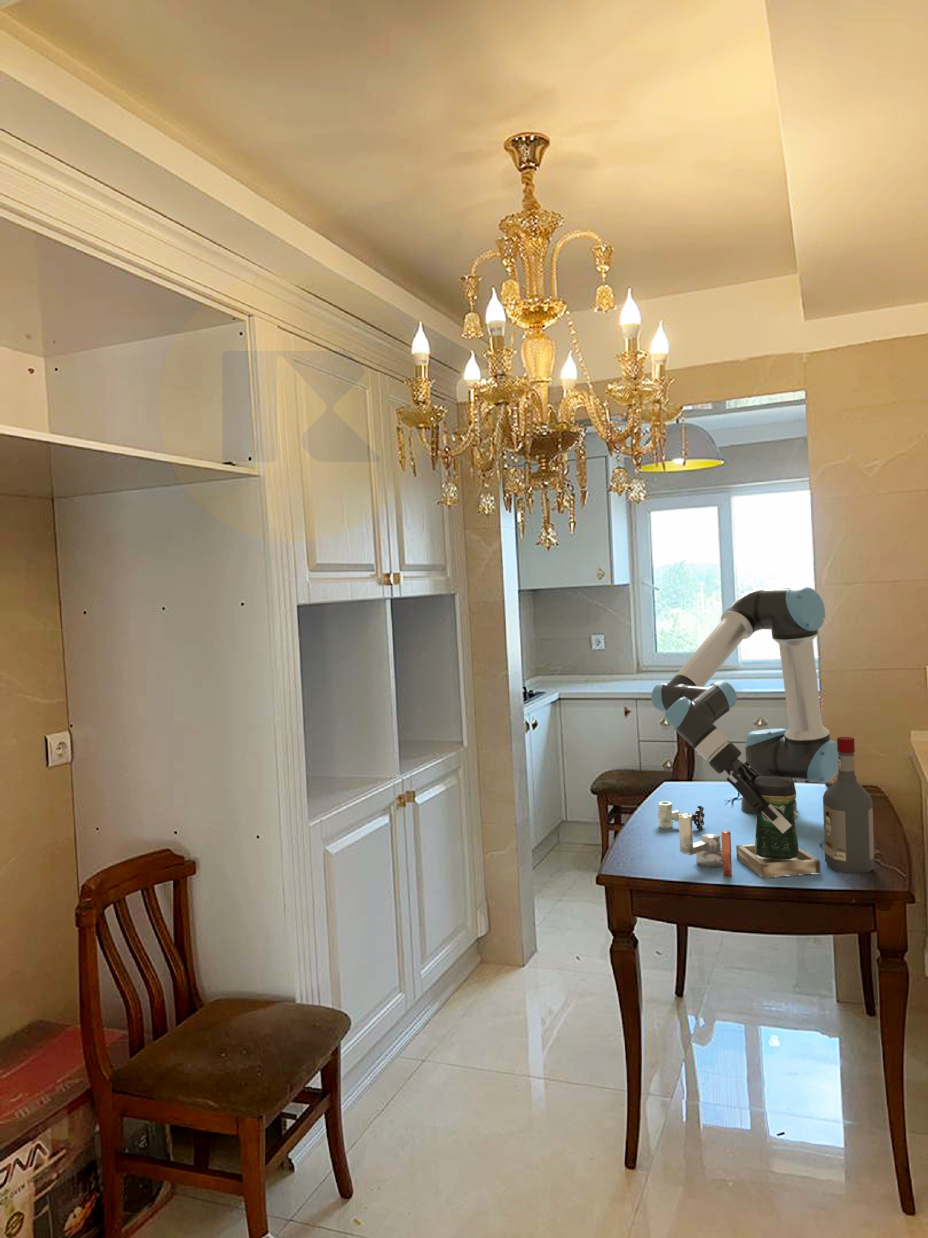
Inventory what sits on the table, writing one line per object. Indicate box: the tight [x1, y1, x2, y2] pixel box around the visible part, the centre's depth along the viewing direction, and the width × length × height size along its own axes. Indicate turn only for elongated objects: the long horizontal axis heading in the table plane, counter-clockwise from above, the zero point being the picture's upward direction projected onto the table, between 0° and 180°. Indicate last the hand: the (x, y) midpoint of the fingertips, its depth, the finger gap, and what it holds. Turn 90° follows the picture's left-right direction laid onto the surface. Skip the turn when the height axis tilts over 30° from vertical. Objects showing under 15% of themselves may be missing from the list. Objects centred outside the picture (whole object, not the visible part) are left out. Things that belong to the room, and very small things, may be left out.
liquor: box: [822, 736, 875, 875], centre depth 207 cm, size 9×9×30 cm
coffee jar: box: [754, 776, 799, 859], centre depth 211 cm, size 10×8×19 cm
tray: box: [735, 843, 822, 879], centre depth 212 cm, size 13×15×3 cm
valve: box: [657, 801, 705, 831], centre depth 246 cm, size 7×7×12 cm
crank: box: [678, 815, 722, 856], centre depth 212 cm, size 13×4×10 cm, turn 127°
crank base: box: [695, 830, 733, 878], centre depth 212 cm, size 7×14×10 cm, turn 5°
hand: (790, 824), depth 210 cm, fingers closed on coffee jar, 8 cm apart
